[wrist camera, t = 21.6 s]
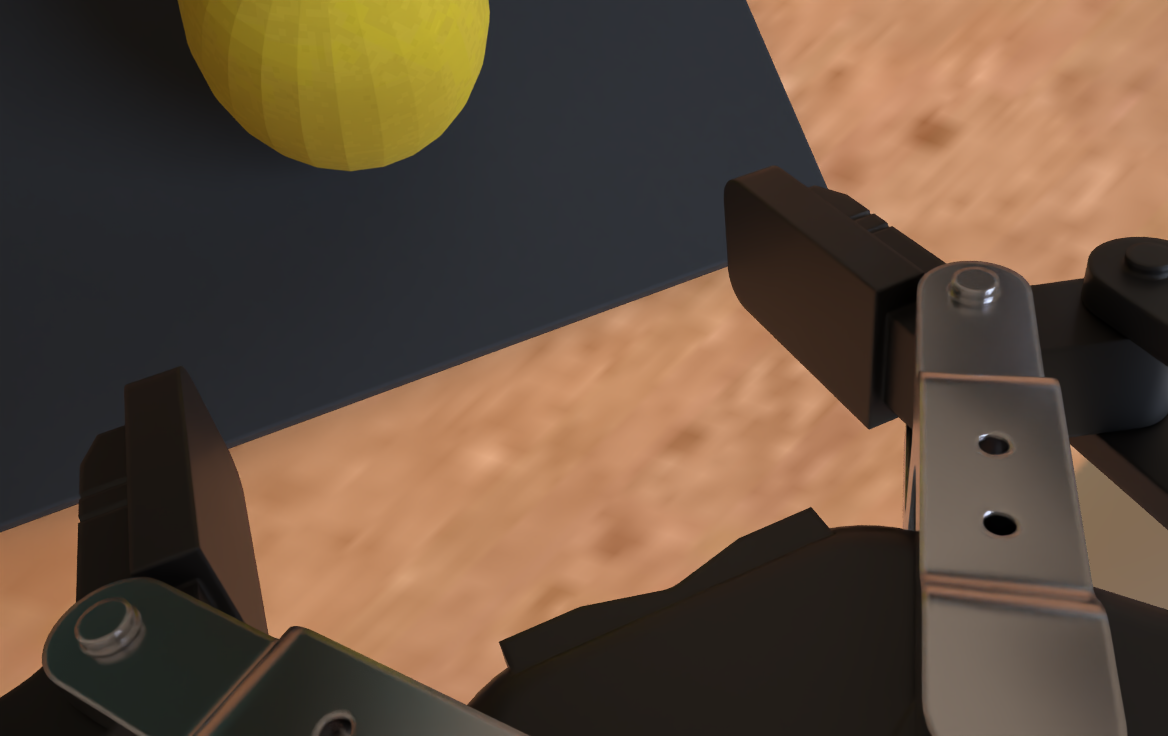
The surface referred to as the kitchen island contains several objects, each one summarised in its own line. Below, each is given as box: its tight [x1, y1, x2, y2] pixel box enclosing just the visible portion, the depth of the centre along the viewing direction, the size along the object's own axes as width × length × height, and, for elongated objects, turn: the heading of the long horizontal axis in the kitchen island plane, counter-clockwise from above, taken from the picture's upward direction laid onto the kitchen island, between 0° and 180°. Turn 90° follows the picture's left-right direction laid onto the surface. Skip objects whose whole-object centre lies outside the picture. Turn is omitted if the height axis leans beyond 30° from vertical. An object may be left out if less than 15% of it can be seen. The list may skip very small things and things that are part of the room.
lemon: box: [178, 0, 490, 171], centre depth 18 cm, size 6×6×8 cm
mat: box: [0, 0, 828, 532], centre depth 22 cm, size 20×13×1 cm, turn 112°
